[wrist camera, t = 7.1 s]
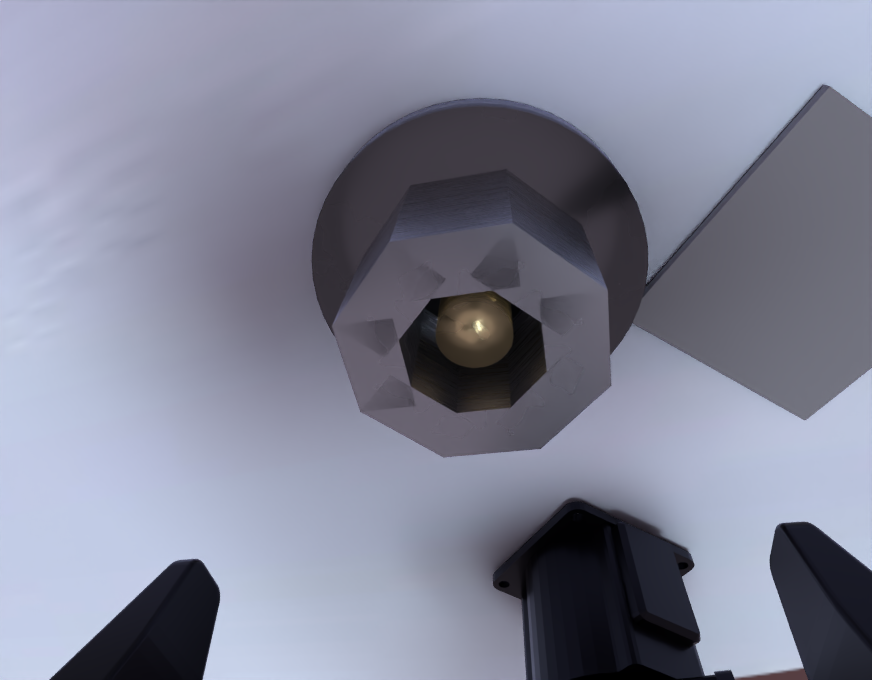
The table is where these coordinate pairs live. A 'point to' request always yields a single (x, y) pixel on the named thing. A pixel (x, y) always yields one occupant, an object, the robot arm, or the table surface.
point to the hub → (472, 154)
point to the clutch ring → (471, 273)
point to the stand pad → (782, 266)
